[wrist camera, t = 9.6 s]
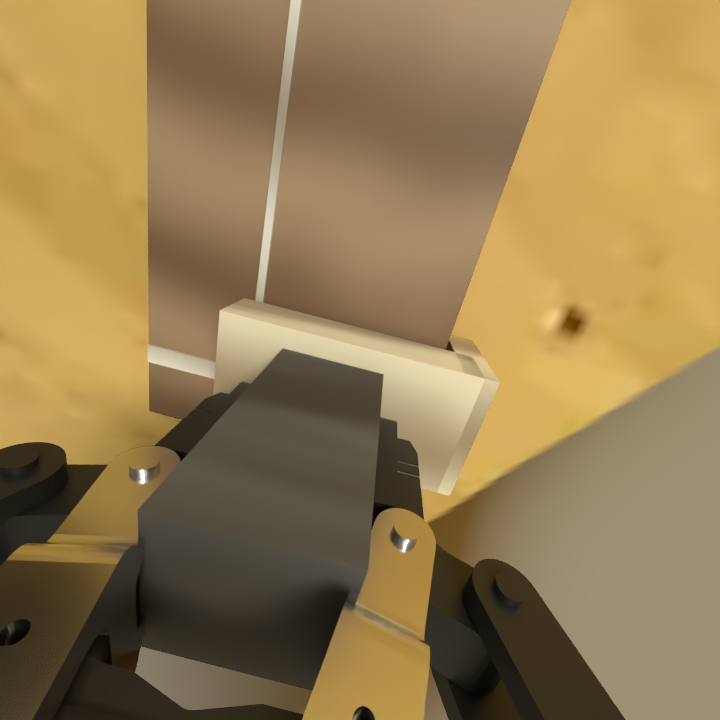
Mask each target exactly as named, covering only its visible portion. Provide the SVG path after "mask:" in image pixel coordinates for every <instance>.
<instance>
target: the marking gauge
mask: <svg viewBox="0 0 720 720" xmlns="http://www.w3.org/2000/svg"><path fill="white" fill-rule="evenodd" d="M242 381H243V382H247V383H251V384H250V385H249V386H248V388H247V389H246V390H245V391H244V392H243V393H242V394H241V395H240V396H239V398H238V399H237V400H236V401H235V402H234V403H233V404H232V405H231V406H230V408H229V409H228V410H227V411H226V412H225V413H224V414H223V415H222V417H221V418H220V419H219V420H218V421H217V422H216V423H215V424H214V425H213V427H212V428H211V429H210V430H209V431H208V432H207V433H206V434H205V435H204V437H203V438H202V439H201V440H200V441H199V442H198V443H197V444H196V445H195V447H194V448H193V449H192V450H191V451H190V452H189V453H188V454H187V455H186V457H185V458H184V459H183V460H182V461H181V462H180V463H179V464H178V465H177V467H176V468H175V469H174V470H173V471H172V472H171V473H170V474H169V475H168V477H167V478H166V479H165V480H164V481H163V482H162V483H161V484H160V486H159V487H158V488H157V489H156V490H155V491H154V492H153V493H152V494H151V496H150V497H149V498H148V499H147V500H146V501H145V502H144V503H143V504H142V506H141V507H140V508H139V509H138V536H140V537H143V538H145V558H144V561H143V563H142V566H141V568H140V571H139V583H140V614H143V615H146V632H145V635H144V638H143V641H142V644H141V646H142V647H146V648H149V649H153V650H157V651H161V652H165V653H169V654H173V655H177V656H180V657H184V658H188V659H192V660H196V661H200V662H204V663H207V664H211V665H215V666H219V667H223V668H227V669H231V670H235V671H239V672H242V673H246V674H250V675H254V676H258V677H262V678H266V679H269V680H273V681H277V682H281V683H285V684H289V685H293V686H297V687H300V688H305V689H308V690H312V691H313V688H314V686H315V683H316V680H317V677H318V675H319V672H320V669H321V666H322V664H323V661H324V658H325V655H326V653H327V650H328V647H329V644H330V642H331V639H332V636H333V634H334V631H335V628H336V625H337V623H338V620H339V617H340V614H341V612H342V609H343V606H344V604H345V601H346V599H347V596H348V594H349V591H353V592H357V593H360V591H361V588H362V585H363V583H364V580H365V577H366V574H367V572H368V567H369V554H370V541H371V529H372V516H373V503H374V490H375V477H376V465H377V452H378V439H379V426H380V417H382V418H386V419H390V420H394V421H397V438H400V439H404V440H408V441H410V442H411V444H412V445H413V447H414V448H415V450H416V452H417V454H418V464H419V466H418V468H419V475H420V476H419V479H420V485H421V489H425V490H429V491H433V492H437V493H441V494H445V495H448V496H450V494H451V492H452V489H453V487H454V485H455V483H456V480H457V478H458V476H459V474H460V471H461V469H462V467H463V465H464V462H465V460H466V458H467V456H468V454H469V451H470V449H471V447H472V445H473V442H474V440H475V438H476V436H477V433H478V431H479V429H480V427H481V424H482V422H483V420H484V418H485V416H486V413H487V411H488V409H489V407H490V404H491V402H492V400H493V398H494V395H495V393H496V391H497V389H498V386H499V384H500V382H499V380H498V379H497V377H496V376H495V374H494V373H493V371H492V370H491V368H490V367H489V365H488V363H487V362H486V360H485V359H484V357H483V356H482V354H481V353H480V351H479V350H478V348H477V347H476V345H475V344H474V342H473V341H471V340H467V339H463V338H460V337H456V336H452V335H451V336H450V339H449V341H448V344H447V347H446V350H444V349H440V348H436V347H433V346H429V345H425V344H421V343H417V342H413V341H409V340H405V339H402V338H398V337H394V336H390V335H386V334H382V333H378V332H374V331H371V330H367V329H363V328H359V327H355V326H351V325H347V324H343V323H340V322H336V321H332V320H328V319H324V318H320V317H316V316H312V315H309V314H305V313H301V312H297V311H293V310H289V309H285V308H281V307H278V306H274V305H270V304H266V303H262V302H258V301H254V300H250V299H247V298H244V299H242V300H240V301H238V302H236V303H233V304H231V305H229V306H227V307H225V308H223V309H221V310H220V313H219V326H218V339H217V352H216V365H215V378H214V391H213V395H215V394H217V393H220V392H222V393H226V394H230V393H231V392H232V391H233V390H234V389H235V387H236V386H237V385H238V384H239V383H240V382H242Z"/></svg>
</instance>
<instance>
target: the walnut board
mask: <svg viewBox="0 0 720 720" xmlns="http://www.w3.org/2000/svg"><path fill="white" fill-rule="evenodd" d="M570 3H571V0H147V124H148V270H149V344H148V345H147V353H148V362H149V411H151V412H155V413H159V414H163V415H167V416H171V417H174V418H178V419H182V420H183V419H184V418H186V417H187V415H188V414H189V413H190V412H191V411H193V410H195V408H196V407H197V406H198V405H199V404H200V403H201V402H202V401H203V400H204V399H205V398H208V397H210V396H213V391H214V378H215V365H216V352H217V339H218V326H219V313H220V310H221V309H223V308H225V307H227V306H229V305H231V304H233V303H236V302H238V301H240V300H242V299H244V298H247V299H250V300H254V301H258V302H262V303H266V304H270V305H274V306H278V307H281V308H285V309H289V310H293V311H297V312H301V313H305V314H309V315H312V316H316V317H320V318H324V319H328V320H332V321H336V322H340V323H343V324H347V325H351V326H355V327H359V328H363V329H367V330H371V331H374V332H378V333H382V334H386V335H390V336H394V337H398V338H402V339H405V340H409V341H413V342H417V343H421V344H425V345H429V346H433V347H436V348H440V349H444V350H446V347H447V344H448V341H449V339H450V336H451V333H452V330H453V327H454V325H455V322H456V319H457V316H458V314H459V311H460V308H461V305H462V302H463V300H464V297H465V294H466V291H467V289H468V286H469V283H470V280H471V278H472V275H473V272H474V269H475V266H476V264H477V261H478V258H479V255H480V253H481V250H482V247H483V244H484V241H485V239H486V236H487V233H488V230H489V228H490V225H491V222H492V219H493V217H494V214H495V211H496V208H497V205H498V203H499V200H500V197H501V194H502V192H503V189H504V186H505V183H506V181H507V178H508V175H509V172H510V169H511V167H512V164H513V161H514V158H515V156H516V153H517V150H518V147H519V144H520V142H521V139H522V136H523V133H524V131H525V128H526V125H527V122H528V120H529V117H530V114H531V111H532V108H533V106H534V103H535V100H536V97H537V95H538V92H539V89H540V86H541V83H542V81H543V78H544V75H545V72H546V70H547V67H548V64H549V61H550V59H551V56H552V53H553V50H554V47H555V45H556V42H557V39H558V36H559V34H560V31H561V28H562V25H563V22H564V20H565V17H566V14H567V11H568V9H569V6H570Z"/></svg>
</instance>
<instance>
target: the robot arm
mask: <svg viewBox="0 0 720 720" xmlns="http://www.w3.org/2000/svg"><path fill="white" fill-rule="evenodd" d="M250 384H251V383H247V382H243V381H242V382H240V383H239V384H238V385H237V386H236V387H235V389H234V390H233V391H232V392H231V393H230V394H226V393H222V392H220V393H217V394H215V395H213V396H210V397H208V398H205V399H204V400H203V401H202V402H201V403H200V404H199V405H198V406H197V407H196V408H195V410H193V411H191V412H190V413H189V414H188V415H187V417H186V418H184V419H183V420H182V421H181V422H180V423H179V424H177V425H176V426H175V427H174V428H173V429H172V430H171V431H170V432H169V433H168V434H167V435H166V436H165V437H163V438H162V439H161V440H160V441H159V442H158V443H157V444H156V445H155V446H144V447H138V448H134V449H131V450H128V451H126V452H124V453H122V454H120V455H118V456H117V457H116V458H114V459H113V460H112V461H111V462H110V463H109V464H108V465H67V460H66V454H65V451H64V450H63V449H62V448H61V447H59V446H57V445H54V444H50V443H43V442H32V443H23V444H18V445H13V446H9V447H6V448H3V449H0V720H423V719H424V710H425V701H426V692H427V683H428V674H429V666H430V667H431V670H432V674H433V677H434V680H435V682H436V685H437V688H438V691H439V694H440V696H441V699H442V702H443V705H444V708H445V710H446V713H447V716H448V718H449V720H625V718H624V717H623V716H622V714H621V713H620V711H619V710H618V708H617V707H616V705H615V704H614V703H613V701H612V700H611V698H610V697H609V695H608V694H607V692H606V691H605V689H604V688H603V687H602V685H601V684H600V682H599V681H598V679H597V678H596V676H595V675H594V674H593V672H592V671H591V669H590V668H589V666H588V665H587V664H586V662H585V661H584V659H583V658H582V656H581V655H580V653H579V652H578V650H577V649H576V647H575V646H574V645H573V643H572V642H571V640H570V639H569V637H568V636H567V634H566V633H565V632H564V630H563V629H562V627H561V626H560V624H559V623H558V621H557V620H556V619H555V618H554V616H553V614H552V613H551V611H550V610H549V608H548V607H547V605H546V604H545V603H544V601H543V600H542V598H541V597H540V595H539V594H538V592H537V591H536V590H535V588H534V587H533V586H532V584H531V583H530V582H529V580H528V579H527V578H526V577H525V576H523V574H521V573H520V572H519V571H517V570H516V569H515V568H514V567H512V566H510V565H509V564H507V563H505V562H502V561H499V560H496V559H485V560H482V561H480V562H478V563H477V564H476V566H475V567H474V568H473V567H471V566H470V565H468V564H466V563H464V562H462V561H460V560H459V559H457V558H455V557H453V556H452V555H450V554H449V553H447V552H446V551H444V550H443V549H442V548H441V547H439V545H438V544H437V543H436V541H435V537H434V534H433V532H432V530H431V528H430V527H429V525H428V524H427V523H426V522H425V521H424V516H423V506H422V495H421V485H420V479H419V476H420V475H419V468H418V466H419V464H418V454H417V452H416V450H415V448H414V447H413V445H412V444H411V442H410V441H408V440H404V439H400V438H397V421H394V420H390V419H386V418H382V417H380V426H379V439H378V452H377V465H376V477H375V490H374V503H373V516H372V529H371V541H370V554H369V567H368V572H367V574H366V577H365V580H364V583H363V585H362V588H361V591H360V593H357V592H353V591H349V594H348V596H347V599H346V601H345V604H344V606H343V609H342V612H341V614H340V617H339V620H338V623H337V625H336V628H335V631H334V634H333V636H332V639H331V642H330V644H329V647H328V650H327V653H326V655H325V658H324V661H323V664H322V666H321V669H320V672H319V675H318V677H317V680H316V683H315V686H314V688H313V691H312V694H311V697H310V699H309V702H308V705H307V707H306V711H305V713H304V715H303V714H299V713H295V712H291V711H287V710H283V709H279V708H275V707H272V706H267V705H264V704H259V705H258V704H257V705H247V706H237V707H226V708H215V709H205V710H187V709H184V708H182V707H180V706H179V705H178V704H176V703H175V702H174V701H172V700H171V699H169V698H168V697H167V696H166V695H164V694H163V693H161V692H160V691H159V690H157V689H156V688H155V687H153V686H152V685H151V684H149V683H148V682H147V681H145V680H144V679H142V678H141V677H140V676H138V675H137V674H136V673H135V670H136V666H137V662H138V657H139V652H140V648H141V644H142V641H143V638H144V635H145V632H146V615H143V614H140V583H139V571H140V568H141V566H142V563H143V561H144V558H145V538H143V537H140V536H138V509H139V508H140V507H141V506H142V504H143V503H144V502H145V501H146V500H147V499H148V498H149V497H150V496H151V494H152V493H153V492H154V491H155V490H156V489H157V488H158V487H159V486H160V484H161V483H162V482H163V481H164V480H165V479H166V478H167V477H168V475H169V474H170V473H171V472H172V471H173V470H174V469H175V468H176V467H177V465H178V464H179V463H180V462H181V461H182V460H183V459H184V458H185V457H186V455H187V454H188V453H189V452H190V451H191V450H192V449H193V448H194V447H195V445H196V444H197V443H198V442H199V441H200V440H201V439H202V438H203V437H204V435H205V434H206V433H207V432H208V431H209V430H210V429H211V428H212V427H213V425H214V424H215V423H216V422H217V421H218V420H219V419H220V418H221V417H222V415H223V414H224V413H225V412H226V411H227V410H228V409H229V408H230V406H231V405H232V404H233V403H234V402H235V401H236V400H237V399H238V398H239V396H240V395H241V394H242V393H243V392H244V391H245V390H246V389H247V388H248V386H249V385H250Z"/></svg>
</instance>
